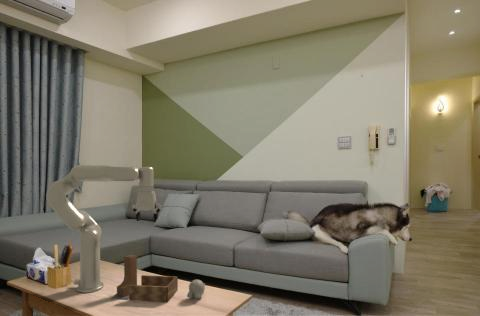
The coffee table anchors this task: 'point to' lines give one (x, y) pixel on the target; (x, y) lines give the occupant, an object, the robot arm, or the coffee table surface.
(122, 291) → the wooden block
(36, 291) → the coffee table surface
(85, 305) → the coffee table surface
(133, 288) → the crate
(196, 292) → the toy rhinoceros
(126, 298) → the mat
